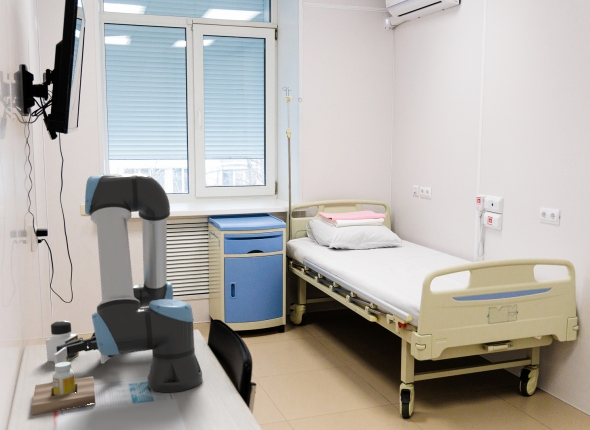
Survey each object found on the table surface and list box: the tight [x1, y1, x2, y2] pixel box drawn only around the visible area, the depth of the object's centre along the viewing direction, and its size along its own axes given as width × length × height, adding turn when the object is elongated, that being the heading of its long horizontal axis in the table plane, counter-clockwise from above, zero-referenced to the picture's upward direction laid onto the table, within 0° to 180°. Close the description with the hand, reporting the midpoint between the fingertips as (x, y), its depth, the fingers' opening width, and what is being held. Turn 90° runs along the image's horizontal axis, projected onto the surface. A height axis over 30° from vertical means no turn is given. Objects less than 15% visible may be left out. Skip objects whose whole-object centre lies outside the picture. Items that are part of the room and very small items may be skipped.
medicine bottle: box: [45, 320, 80, 363], centre depth 192 cm, size 7×7×12 cm
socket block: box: [31, 376, 96, 416], centre depth 158 cm, size 15×15×2 cm
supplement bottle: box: [52, 361, 76, 396], centre depth 158 cm, size 5×5×10 cm
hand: (78, 359), depth 168 cm, fingers open, 13 cm apart
